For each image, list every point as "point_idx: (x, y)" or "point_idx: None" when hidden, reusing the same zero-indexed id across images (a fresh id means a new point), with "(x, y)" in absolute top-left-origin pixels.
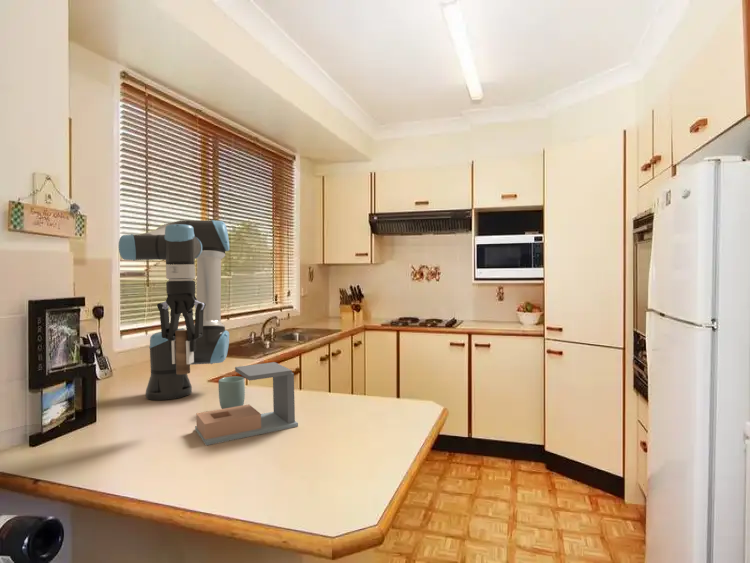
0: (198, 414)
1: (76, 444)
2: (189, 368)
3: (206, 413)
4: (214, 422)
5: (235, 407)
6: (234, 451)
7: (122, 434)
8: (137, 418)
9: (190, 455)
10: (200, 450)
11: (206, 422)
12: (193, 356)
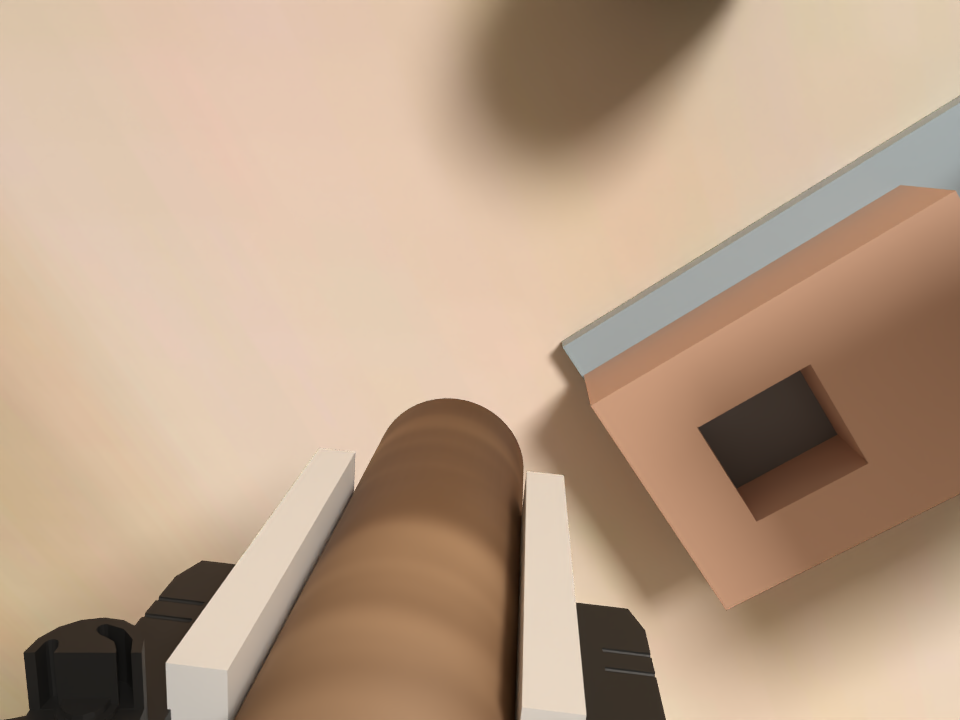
0: (616, 430)
1: (38, 531)
2: (522, 490)
3: (666, 410)
4: (779, 582)
5: (852, 274)
6: (883, 646)
7: (170, 404)
8: (59, 110)
9: (677, 677)
10: (705, 627)
11: (727, 582)
12: (566, 525)
